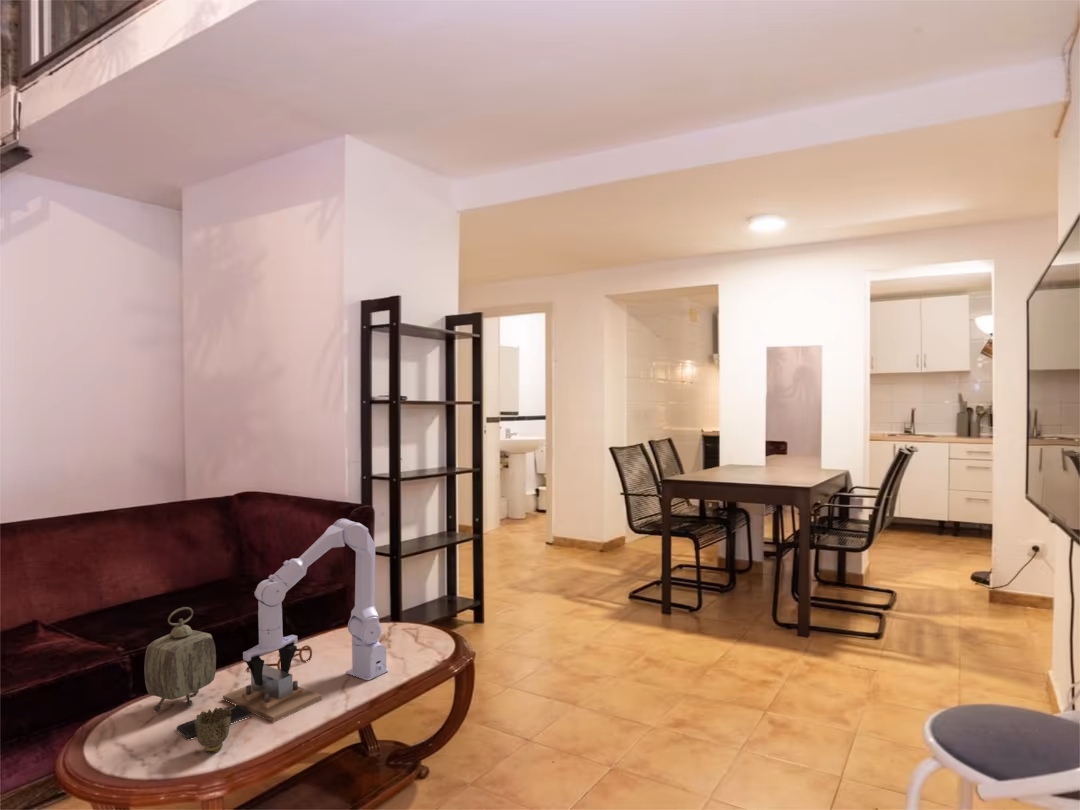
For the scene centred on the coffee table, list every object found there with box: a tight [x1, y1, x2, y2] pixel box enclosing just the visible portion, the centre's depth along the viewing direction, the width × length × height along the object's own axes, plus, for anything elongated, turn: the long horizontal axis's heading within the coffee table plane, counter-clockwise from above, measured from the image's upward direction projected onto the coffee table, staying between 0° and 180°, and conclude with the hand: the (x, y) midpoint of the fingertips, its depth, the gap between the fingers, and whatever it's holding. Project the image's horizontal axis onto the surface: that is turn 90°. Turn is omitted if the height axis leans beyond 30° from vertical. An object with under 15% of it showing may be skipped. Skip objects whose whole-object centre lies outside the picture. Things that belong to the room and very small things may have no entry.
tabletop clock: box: [143, 606, 217, 713], centre depth 171 cm, size 14×9×25 cm, turn 154°
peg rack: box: [222, 680, 323, 723], centre depth 173 cm, size 22×14×4 cm, turn 56°
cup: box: [193, 707, 231, 754], centre depth 149 cm, size 8×7×8 cm
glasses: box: [246, 645, 313, 671], centre depth 197 cm, size 13×13×5 cm
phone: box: [176, 705, 251, 740], centre depth 161 cm, size 8×1×15 cm
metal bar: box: [250, 665, 293, 700], centre depth 173 cm, size 12×4×5 cm, turn 56°
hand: (271, 679), depth 173 cm, fingers open, 7 cm apart
